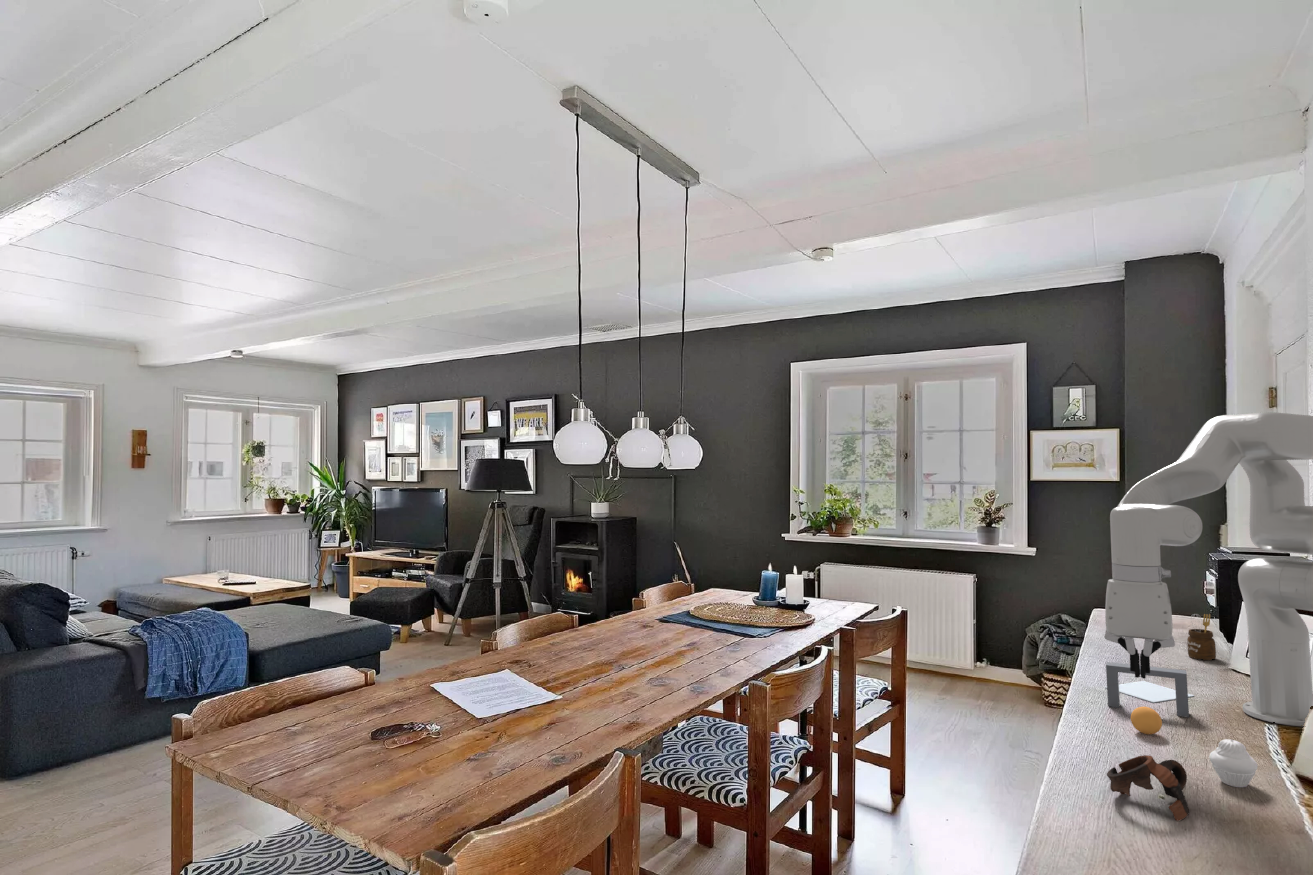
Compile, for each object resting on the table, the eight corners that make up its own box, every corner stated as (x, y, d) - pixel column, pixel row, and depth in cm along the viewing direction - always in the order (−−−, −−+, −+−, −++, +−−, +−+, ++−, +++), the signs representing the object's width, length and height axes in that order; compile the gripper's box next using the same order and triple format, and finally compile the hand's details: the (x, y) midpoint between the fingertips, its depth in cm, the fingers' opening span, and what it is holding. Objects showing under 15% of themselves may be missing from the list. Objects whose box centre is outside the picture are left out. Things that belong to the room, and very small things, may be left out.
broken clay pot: (1172, 832, 104) (1134, 774, 107) (1121, 834, 112) (1087, 780, 115) (1220, 794, 109) (1183, 739, 112) (1168, 798, 117) (1134, 747, 120)
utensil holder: (1206, 655, 194) (1204, 609, 194) (1222, 661, 188) (1219, 614, 188) (1182, 655, 194) (1180, 609, 195) (1197, 661, 188) (1195, 614, 189)
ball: (1144, 727, 143) (1143, 701, 143) (1169, 736, 138) (1167, 709, 139) (1125, 731, 142) (1123, 704, 142) (1149, 740, 137) (1147, 712, 137)
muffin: (1251, 795, 114) (1248, 749, 114) (1204, 782, 119) (1202, 738, 119) (1264, 784, 117) (1261, 740, 118) (1218, 772, 122) (1215, 729, 123)
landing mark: (1143, 681, 172) (1143, 680, 172) (1194, 696, 161) (1194, 695, 161) (1104, 687, 169) (1104, 686, 169) (1153, 703, 157) (1153, 702, 157)
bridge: (1108, 702, 158) (1106, 661, 159) (1188, 713, 151) (1186, 670, 151) (1108, 706, 156) (1105, 665, 156) (1189, 717, 148) (1186, 673, 148)
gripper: (1186, 575, 132) (1190, 677, 131) (1090, 569, 141) (1093, 666, 140) (1187, 580, 126) (1192, 688, 125) (1087, 574, 135) (1091, 675, 134)
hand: (1140, 676), depth 133 cm, fingers closed
